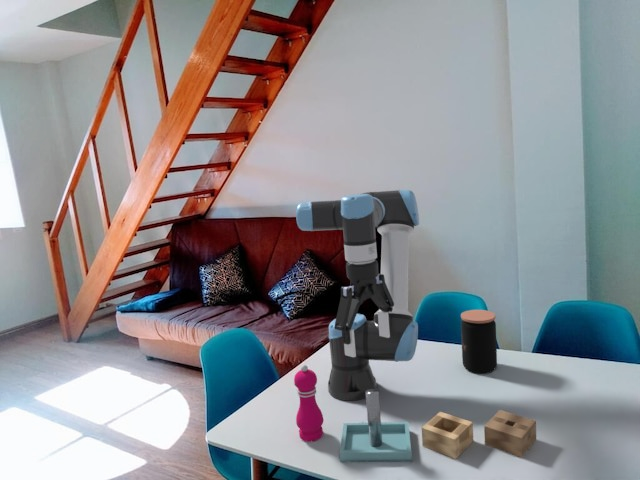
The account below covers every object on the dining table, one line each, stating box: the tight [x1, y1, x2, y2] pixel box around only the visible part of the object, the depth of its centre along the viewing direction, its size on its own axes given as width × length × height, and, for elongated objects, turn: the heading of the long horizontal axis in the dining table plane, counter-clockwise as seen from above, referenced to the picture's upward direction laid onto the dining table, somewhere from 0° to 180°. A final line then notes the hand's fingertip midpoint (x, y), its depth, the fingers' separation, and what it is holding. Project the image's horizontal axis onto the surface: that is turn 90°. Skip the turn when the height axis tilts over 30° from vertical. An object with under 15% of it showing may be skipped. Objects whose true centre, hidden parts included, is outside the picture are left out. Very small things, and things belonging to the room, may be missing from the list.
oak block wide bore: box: [421, 411, 474, 460], centre depth 122 cm, size 9×9×5 cm
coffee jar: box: [460, 309, 498, 375], centre depth 160 cm, size 11×11×18 cm
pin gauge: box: [365, 389, 382, 447], centre depth 123 cm, size 3×3×14 cm
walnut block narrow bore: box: [483, 409, 537, 458], centre depth 120 cm, size 9×9×5 cm
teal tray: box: [339, 421, 413, 463], centre depth 124 cm, size 17×13×2 cm
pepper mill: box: [293, 364, 324, 443], centre depth 130 cm, size 7×7×20 cm
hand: (368, 345), depth 120 cm, fingers open, 13 cm apart
